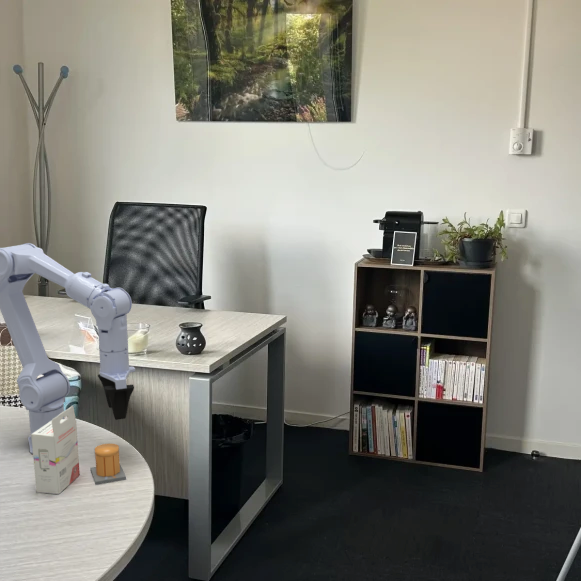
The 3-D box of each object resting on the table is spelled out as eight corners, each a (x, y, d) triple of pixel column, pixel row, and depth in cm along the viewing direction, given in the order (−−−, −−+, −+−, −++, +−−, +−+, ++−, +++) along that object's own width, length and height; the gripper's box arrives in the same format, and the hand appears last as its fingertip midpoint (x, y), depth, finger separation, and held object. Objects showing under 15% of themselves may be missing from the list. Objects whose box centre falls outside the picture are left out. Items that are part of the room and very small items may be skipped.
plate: (90, 470, 147) (89, 455, 146) (119, 465, 149) (119, 451, 149) (95, 484, 141) (94, 469, 140) (126, 479, 143) (125, 464, 142)
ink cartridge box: (57, 473, 146) (52, 402, 143) (80, 475, 145) (76, 404, 142) (34, 492, 137) (28, 418, 135) (58, 495, 136) (53, 420, 134)
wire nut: (94, 469, 146) (93, 445, 145) (117, 465, 148) (116, 442, 147) (97, 478, 142) (96, 453, 141) (121, 474, 144) (120, 450, 143)
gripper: (140, 355, 144) (143, 421, 146) (127, 338, 157) (130, 399, 159) (103, 359, 141) (107, 426, 143) (93, 342, 154) (96, 403, 157)
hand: (117, 412), depth 151 cm, fingers open, 7 cm apart
